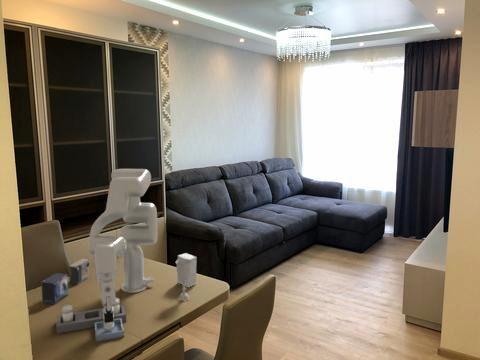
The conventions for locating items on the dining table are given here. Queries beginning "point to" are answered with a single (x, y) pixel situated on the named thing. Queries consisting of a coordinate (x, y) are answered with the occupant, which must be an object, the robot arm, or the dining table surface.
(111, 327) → the white striped cylinder
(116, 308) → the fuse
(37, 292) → the dining table surface
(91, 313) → the fuse block
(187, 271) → the chalice
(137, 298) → the dining table surface
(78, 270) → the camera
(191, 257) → the skincare box
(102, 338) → the tray
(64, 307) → the fuse
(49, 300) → the small box
